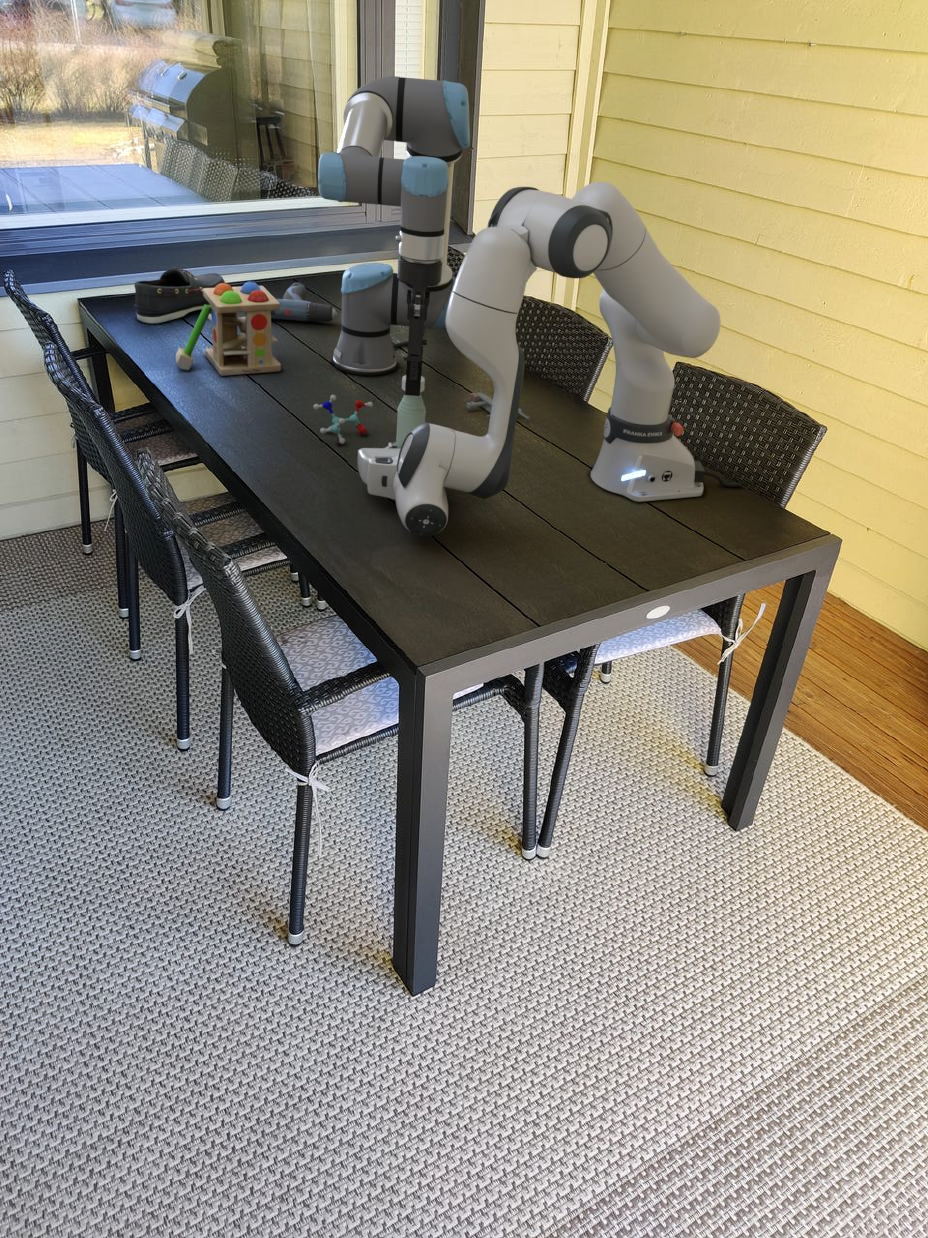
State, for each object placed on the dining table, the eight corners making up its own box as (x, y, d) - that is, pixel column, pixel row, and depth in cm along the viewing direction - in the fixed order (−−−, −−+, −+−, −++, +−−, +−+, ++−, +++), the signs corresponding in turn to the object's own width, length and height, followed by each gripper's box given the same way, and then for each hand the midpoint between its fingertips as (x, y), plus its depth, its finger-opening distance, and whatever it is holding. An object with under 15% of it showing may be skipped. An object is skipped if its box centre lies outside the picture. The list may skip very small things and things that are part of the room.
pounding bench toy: (183, 379, 220) (176, 299, 210) (169, 357, 231) (162, 280, 221) (282, 371, 230) (280, 294, 220) (264, 350, 240) (262, 276, 230)
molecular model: (360, 436, 195) (343, 387, 193) (320, 451, 198) (303, 403, 197) (383, 432, 205) (367, 385, 204) (345, 446, 209) (329, 401, 207)
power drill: (344, 304, 276) (335, 327, 259) (277, 298, 275) (264, 321, 258) (344, 285, 273) (335, 306, 256) (277, 279, 272) (264, 300, 255)
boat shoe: (245, 302, 271) (243, 263, 266) (154, 325, 248) (149, 283, 242) (211, 293, 277) (208, 255, 272) (119, 316, 253) (114, 274, 248)
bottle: (394, 471, 192) (398, 376, 181) (420, 472, 192) (427, 377, 181) (394, 483, 187) (399, 386, 176) (421, 484, 188) (428, 388, 177)
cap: (417, 383, 182) (417, 373, 181) (428, 391, 179) (428, 380, 178) (397, 386, 180) (398, 375, 179) (408, 394, 177) (409, 383, 176)
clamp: (458, 394, 221) (496, 389, 226) (457, 403, 222) (495, 398, 227) (493, 419, 211) (531, 413, 215) (492, 429, 212) (530, 423, 216)
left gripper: (400, 241, 174) (395, 367, 187) (395, 271, 158) (389, 406, 171) (443, 245, 175) (434, 370, 188) (442, 275, 159) (432, 409, 172)
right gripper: (475, 463, 176) (464, 431, 187) (360, 461, 172) (356, 429, 183) (471, 495, 179) (461, 462, 190) (359, 494, 176) (355, 460, 187)
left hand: (413, 387), depth 179 cm, fingers open, 6 cm apart
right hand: (408, 446), depth 187 cm, fingers closed on bottle, 5 cm apart
